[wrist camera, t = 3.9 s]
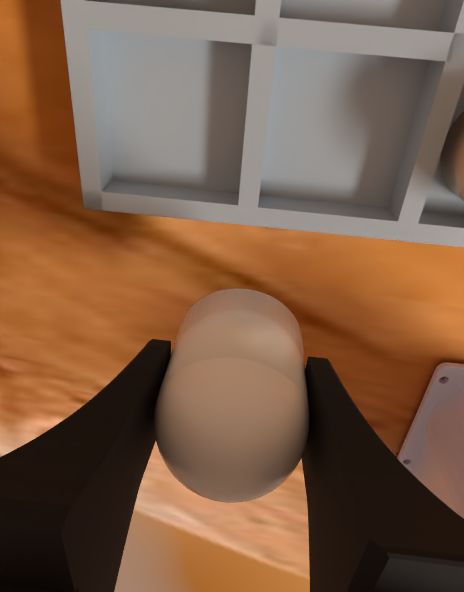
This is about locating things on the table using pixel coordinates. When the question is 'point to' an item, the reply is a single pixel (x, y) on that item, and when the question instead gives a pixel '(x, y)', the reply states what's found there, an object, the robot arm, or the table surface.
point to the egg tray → (270, 112)
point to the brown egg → (454, 158)
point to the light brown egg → (234, 397)
